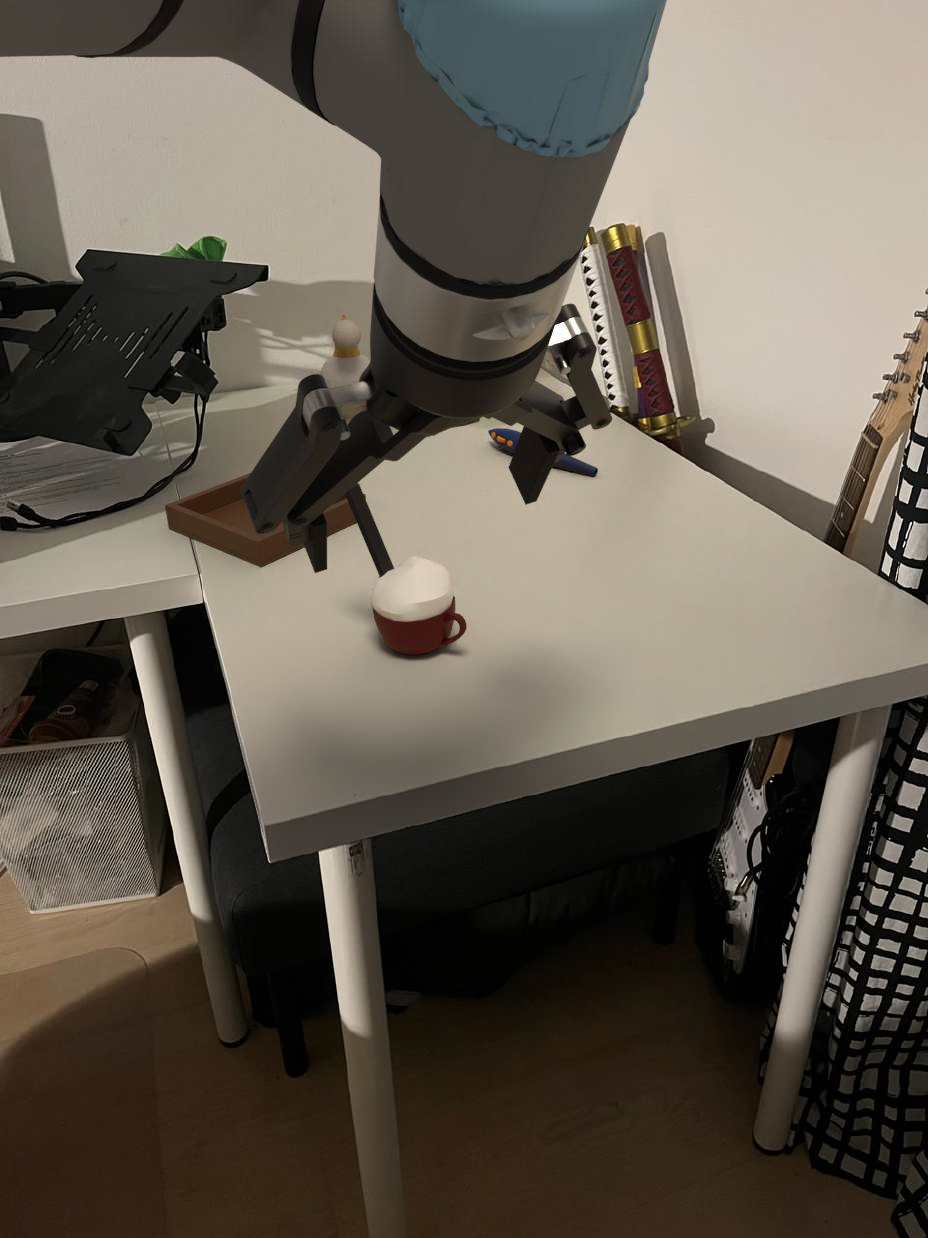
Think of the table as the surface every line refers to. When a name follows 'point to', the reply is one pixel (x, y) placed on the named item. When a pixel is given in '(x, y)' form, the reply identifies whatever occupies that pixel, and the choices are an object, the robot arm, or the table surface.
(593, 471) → the tapered navy handle
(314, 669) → the table surface
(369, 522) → the cocoa
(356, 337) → the white gourd-shaped figure
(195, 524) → the tray
